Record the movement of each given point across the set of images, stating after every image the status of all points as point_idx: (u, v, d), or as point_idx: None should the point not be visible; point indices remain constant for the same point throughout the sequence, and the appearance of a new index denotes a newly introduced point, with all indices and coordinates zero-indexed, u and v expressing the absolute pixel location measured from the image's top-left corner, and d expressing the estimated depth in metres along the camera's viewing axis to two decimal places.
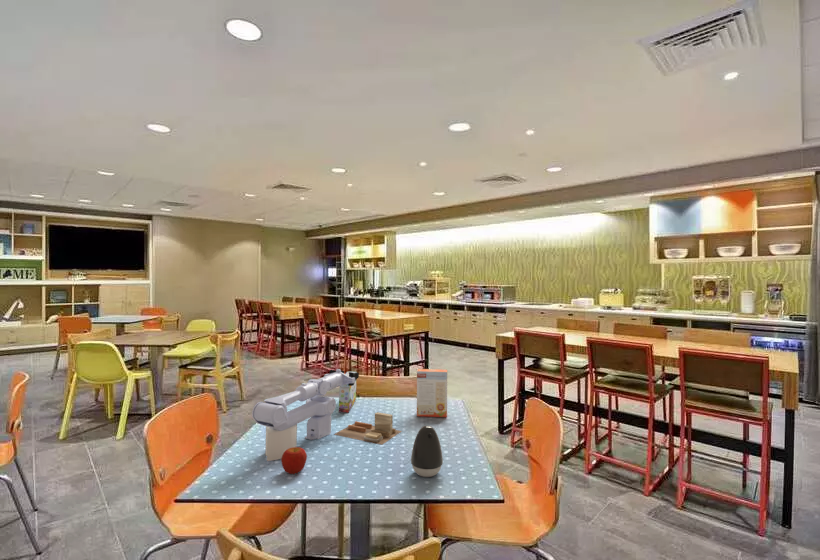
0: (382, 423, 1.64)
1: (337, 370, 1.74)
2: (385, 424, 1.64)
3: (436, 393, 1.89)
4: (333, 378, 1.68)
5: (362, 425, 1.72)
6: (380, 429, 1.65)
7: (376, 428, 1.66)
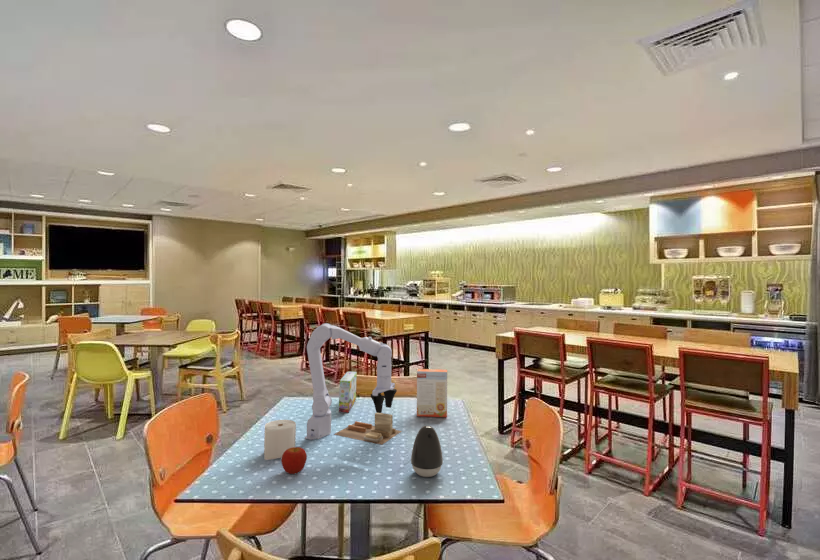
0: (382, 423, 1.64)
1: (392, 387, 1.64)
2: (385, 424, 1.64)
3: (436, 393, 1.89)
4: (388, 373, 1.63)
5: (362, 425, 1.72)
6: (380, 429, 1.65)
7: (376, 428, 1.66)
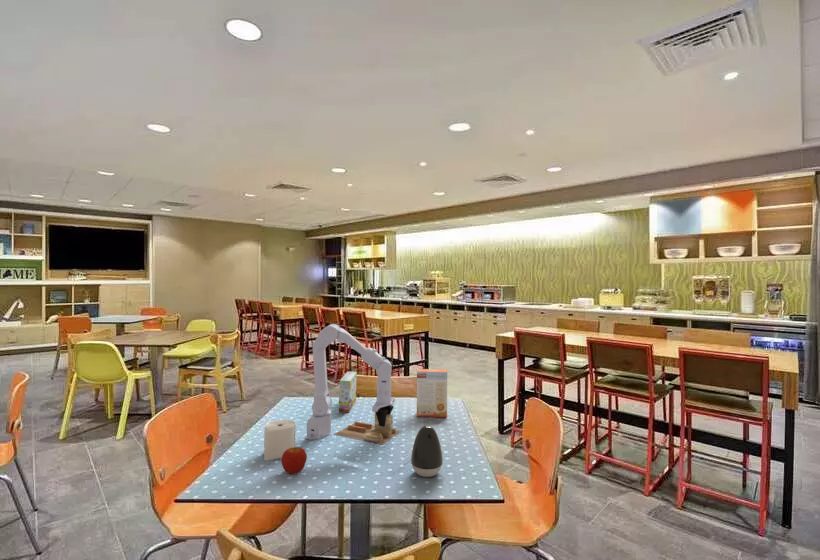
0: None
1: (392, 402, 1.64)
2: (385, 424, 1.64)
3: (436, 393, 1.89)
4: (388, 388, 1.63)
5: (362, 425, 1.72)
6: (380, 429, 1.65)
7: (376, 428, 1.66)
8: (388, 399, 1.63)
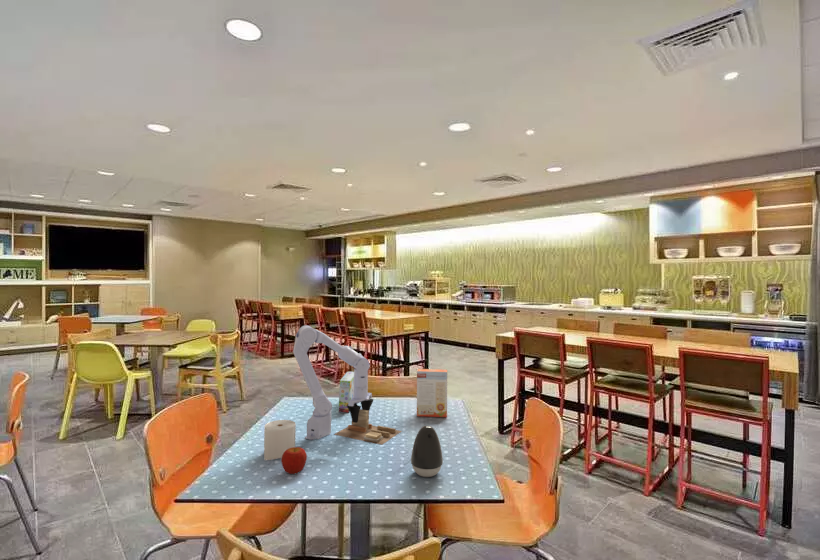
0: (358, 419, 1.69)
1: (368, 397, 1.69)
2: (361, 420, 1.69)
3: (436, 393, 1.89)
4: (366, 383, 1.69)
5: None
6: (357, 424, 1.70)
7: (353, 423, 1.71)
8: (364, 394, 1.68)
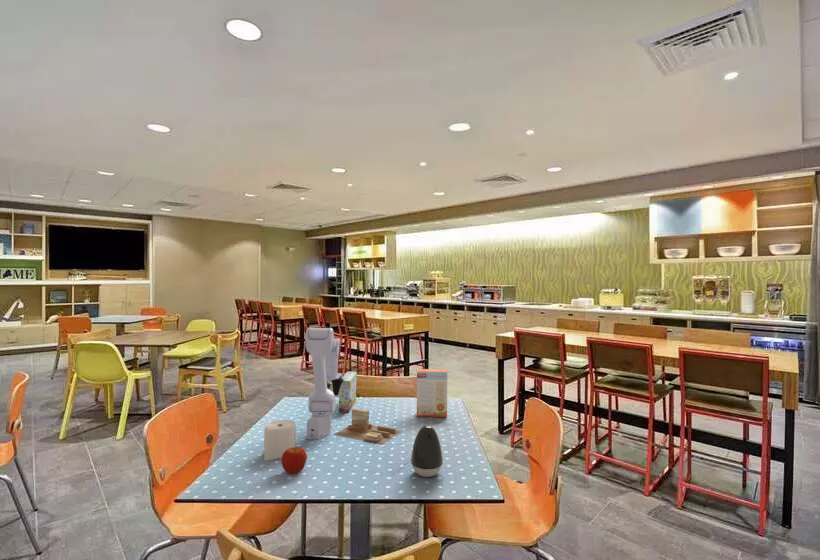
0: (358, 419, 1.69)
1: (337, 377, 1.81)
2: (361, 420, 1.69)
3: (436, 393, 1.89)
4: None
5: None
6: (357, 424, 1.70)
7: (353, 423, 1.71)
8: (334, 373, 1.81)
